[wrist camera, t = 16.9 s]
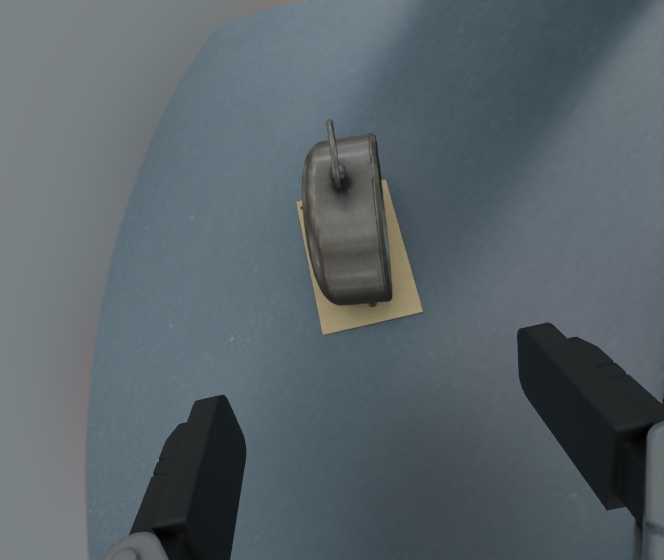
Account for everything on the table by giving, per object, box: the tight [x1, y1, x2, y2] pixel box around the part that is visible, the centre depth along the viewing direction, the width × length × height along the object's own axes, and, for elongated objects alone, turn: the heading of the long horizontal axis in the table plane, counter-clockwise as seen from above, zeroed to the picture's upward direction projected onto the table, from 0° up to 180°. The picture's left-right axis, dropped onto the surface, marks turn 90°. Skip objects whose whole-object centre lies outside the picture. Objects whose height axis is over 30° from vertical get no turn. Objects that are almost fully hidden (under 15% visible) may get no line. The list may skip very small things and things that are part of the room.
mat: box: [296, 179, 423, 335], centre depth 34 cm, size 8×12×1 cm, turn 12°
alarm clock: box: [300, 119, 393, 307], centre depth 26 cm, size 11×5×16 cm, turn 3°
